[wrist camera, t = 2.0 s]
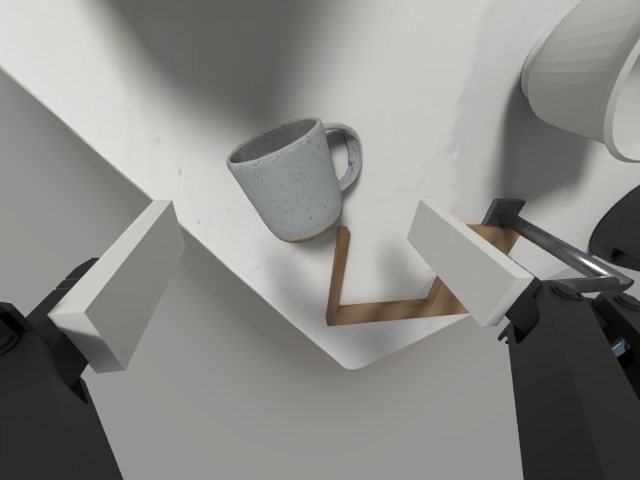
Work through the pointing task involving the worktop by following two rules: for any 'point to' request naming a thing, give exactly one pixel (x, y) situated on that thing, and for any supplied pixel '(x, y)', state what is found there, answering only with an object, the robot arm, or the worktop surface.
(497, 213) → the bent metal bar
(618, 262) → the robot arm
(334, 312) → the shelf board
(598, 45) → the teacup
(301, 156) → the ceramic mug
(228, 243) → the worktop surface
